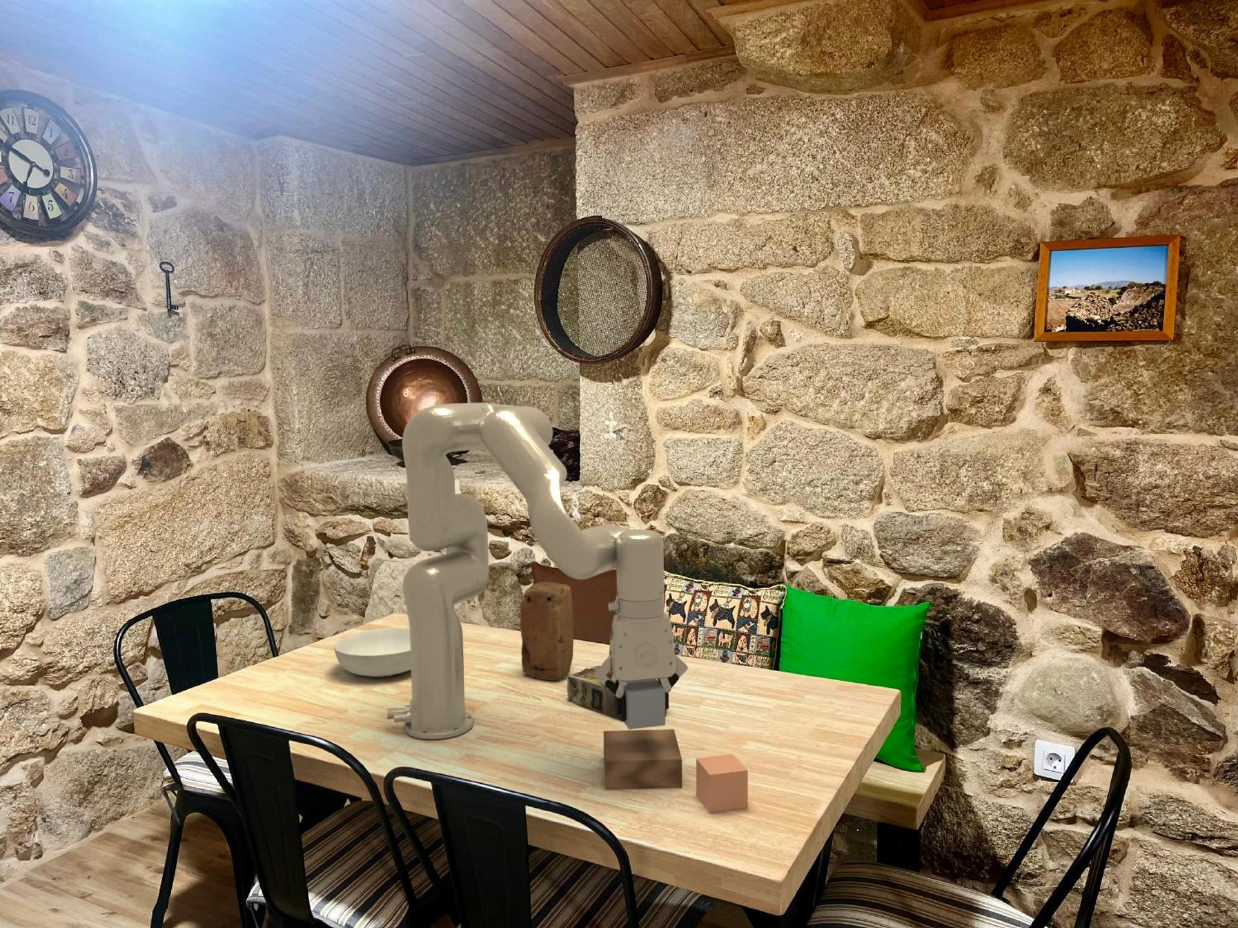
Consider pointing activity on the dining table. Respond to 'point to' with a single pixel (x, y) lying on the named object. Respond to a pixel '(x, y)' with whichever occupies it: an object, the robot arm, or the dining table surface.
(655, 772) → the base block
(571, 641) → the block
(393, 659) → the serving bowl
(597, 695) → the juice carton
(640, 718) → the grey cube
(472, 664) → the dining table surface
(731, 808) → the terracotta cube
